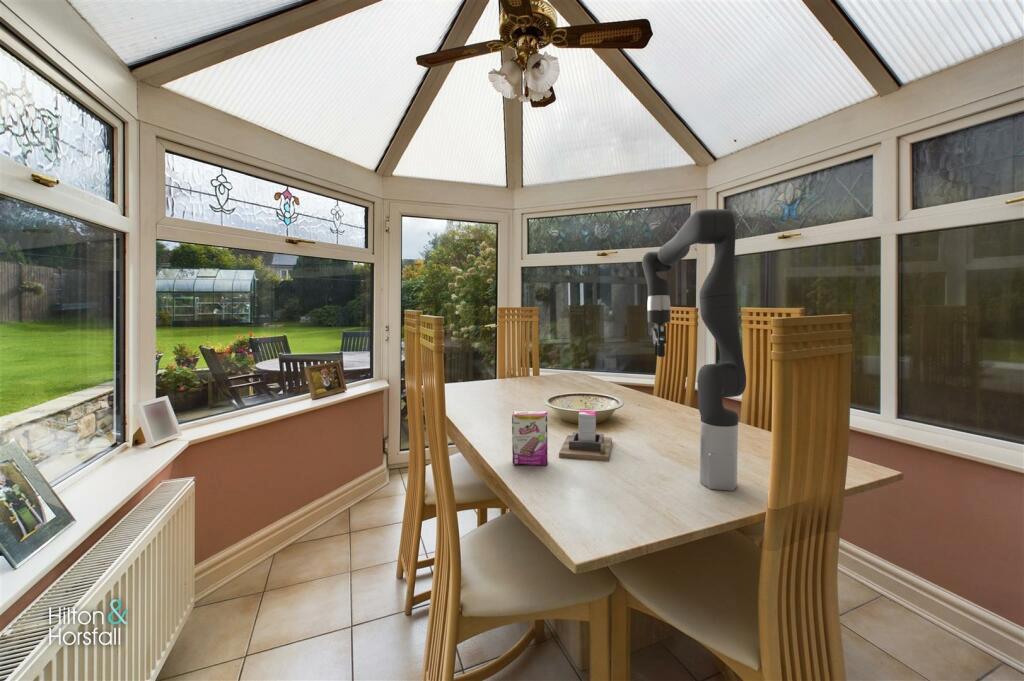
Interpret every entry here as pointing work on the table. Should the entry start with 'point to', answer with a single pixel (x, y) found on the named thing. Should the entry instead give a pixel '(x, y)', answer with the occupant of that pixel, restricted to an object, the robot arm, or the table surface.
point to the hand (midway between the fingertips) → (659, 356)
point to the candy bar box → (530, 437)
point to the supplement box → (587, 426)
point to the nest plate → (586, 448)
